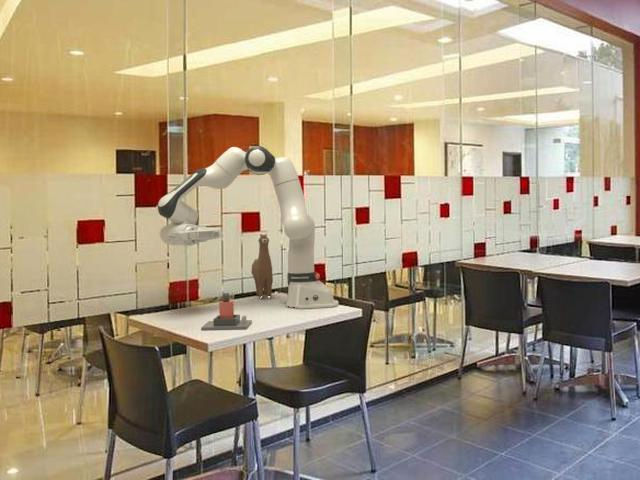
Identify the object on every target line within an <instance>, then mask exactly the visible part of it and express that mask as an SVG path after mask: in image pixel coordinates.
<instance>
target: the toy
mask: <svg viewBox="0 0 640 480" xmlns="http://www.w3.org/2000/svg"><path fill="white" fill-rule="evenodd" d="M259 236H260V237H259V239H258V244H259V249H258V258H256V259H254V260H253V262H252V265H251V271H250V272H251V275H252V277H253V280H254V283H255V284H254V285H255V291H256V297H257V296H259V298H260V297H261V296H263V297H264V296H265V295H267V296H271V297H272V286H273V283H274V281H273V279H274V277H273V265H272V264H273V263H272V260H271V256H270V252H269V251H270V250H269V242H270V239H269V238H268V234H267V233H266V234H259ZM267 296H266V297H267Z"/></svg>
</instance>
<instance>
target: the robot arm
mask: <svg viewBox="0 0 640 480" xmlns="http://www.w3.org/2000/svg"><path fill="white" fill-rule="evenodd" d="M244 171H249V172H250V173H253V174H254V175H258V176H259V175H260V176H263V175H266V174H268V175H269V177H270V179H271V181H272V185H273V187H274V191H275V194H276V198H277V202H278V205H279V209H280V217H281V221H282V225H283V231H284V234H285V235H286V237H288V238H289V241H288V242H289V243H288V252H287V268H288V271H287V275H286V276H287V281H286V282H287V286H288V287H287V289H288V291H287V298H286V303H285V307H288V306H289V307H288V308H293V307H295V308H294V309H298V310H299V309H301V310H302V309H318V308H319V309H320V308H334V307H337V306H338V305H339V301H338V299H334V295H333V294H334V293H333V291H332V289H331V288H330V287H329V286H328V285H326V284H324V283H323V282H322V281H321V280H320V276H321V275H320V273H319V272H317V271H315V256H314V255H315V252H314V251H315V239H316V226H315V225H316V224H315V220H314V219H313V218H312V216H310V215H309V214H308V211H307V206H306V200H305V195H304V192H303V189H302V186H301V185H302V184H301V181H300V179H299V175H298V172H297V170H296V168H295V166H294V164H293V162H292V161H291V159H290V158H289V157H286V156H281V157H275V156H274V155H273V154H272V152H270V151H269V150H268V148H265V147H264V146H260V145H254V146H251V147H250V148H249V149H248V150H247V151H244V150H243V149H242V148H239V147H238V146H237V147H236V146H232V147H230V148H228V149H227V150H226V151H224V152H223V153H222V154H221V155H220V156H219V157H218V158H217V159H216V160H215V161H214V162H213V163H212V165H210V166H208V167H205V168H203V167H202V168H198V169H197V170H195V171H194V172H193V173H192V174H190V175H189V176H188V177H187V178H186V179H184V180H183V181H182V182H181V183H179V184H178V185H177V186H176V187H175V188H173V189H172V190H171V191H170V192H168V193H166V194H164V195H163V196H162V197H160V199H159V200H158V202H157V211H158V214H159V215H160V216H162V217H163V218H166V219H167V220H169V221H170V222H169V224H167V225H164V226H162V227H161V228H160V229H159V237H160V240H161V241H162V243H164V244H166V245H170V246H184V247H186V246H187V247H188V246H190V247H191V246H194V245H196V244H199V243H204V242H208V241H209V240H216V239H220V238H221V236H222V235H221V230H220V228H215V227H207V226H206V225H198V224H199V221H200V217H199V216H200V215H199V212H198V211H196V210H195V209H194V208H193V207H192V206H190V205H188V204H187V203H186V202H184V201H183V199H184V198H185V197H186V196H187V195H189V193H190V192H192V191H193V190H195V189H196V188H197V187H208V188H212V189H215V190H216V189H217V190H223V189H226V188H228V187H230V186H231V185H232V184H233V183H234V181H235V180H236V179H237V178H238V177H239V175H240V174H241V173H242V172H244Z"/></svg>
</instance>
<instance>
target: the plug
mask: <svg viewBox="0 0 640 480" xmlns="http://www.w3.org/2000/svg"><path fill="white" fill-rule="evenodd" d="M218 302H219V303H218V304H219V305H218V309H219V315H220V319H227V318H234V315H235V310H234V305H235V304H234V301H232V300H230V293H229V292H223V293H222V301H218Z"/></svg>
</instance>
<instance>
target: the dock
mask: <svg viewBox="0 0 640 480" xmlns="http://www.w3.org/2000/svg"><path fill="white" fill-rule="evenodd" d="M252 323H253V320H252V319H247V315H242V316H241V314H234V318H227V319H220V314H218V315H216V316H215V317H214V318H213V320H208V321H207V322H206V323H205V324H204V325H202V326H201V328H200V330H201V331H233V330H247V329H249V327H250V326H251V325H252Z"/></svg>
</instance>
